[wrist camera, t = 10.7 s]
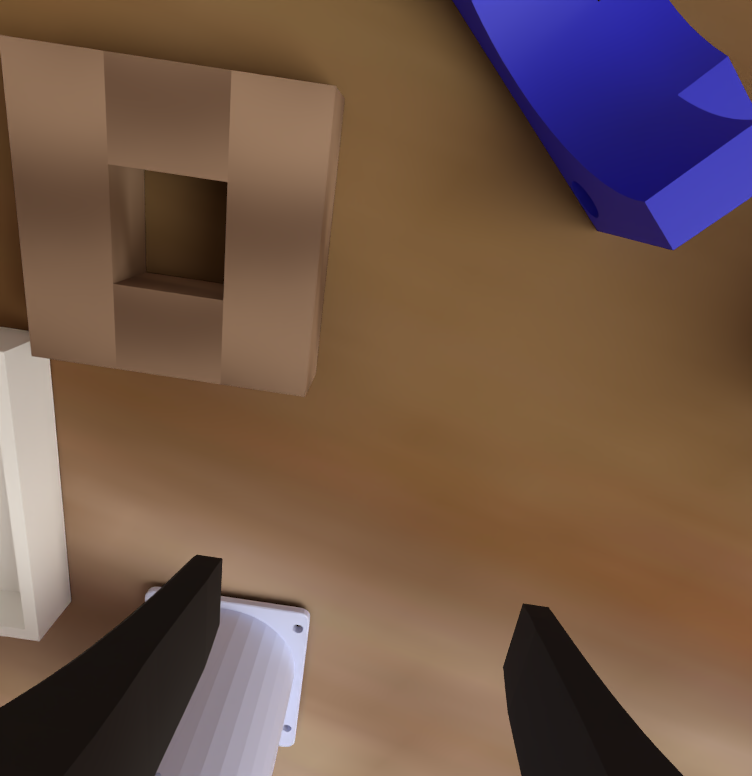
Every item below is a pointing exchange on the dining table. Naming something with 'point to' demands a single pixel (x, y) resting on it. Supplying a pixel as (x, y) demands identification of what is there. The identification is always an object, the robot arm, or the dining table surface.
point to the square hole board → (127, 212)
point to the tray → (29, 495)
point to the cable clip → (626, 109)
